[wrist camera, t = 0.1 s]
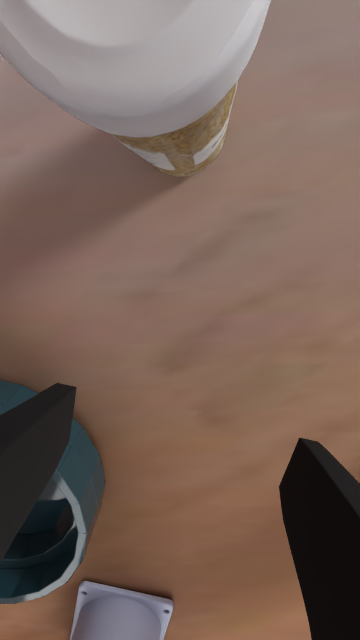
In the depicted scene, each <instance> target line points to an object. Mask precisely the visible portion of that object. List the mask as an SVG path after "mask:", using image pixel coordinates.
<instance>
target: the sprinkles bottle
mask: <svg viewBox="0 0 360 640" xmlns="http://www.w3.org/2000/svg"><path fill="white" fill-rule="evenodd" d="M270 2H271V0H0V53H1V54H2V55H3V56H4V58H5V59H6V60H7V61H8V62H9V63H10V64H11V65H12V66H13V67H14V69H15V70H16V71H17V72H18V73H19V74H20V75H21V76H22V77H23V78H25V79H26V80H27V81H28V82H29V83H30V84H31V85H33V86H34V87H35V88H36V89H37V90H39V91H40V92H41V93H43V94H44V95H45V96H46V97H48V98H49V99H50V100H52V101H53V102H54V103H56V104H57V105H58V106H60V107H61V108H62V109H64V110H65V111H67V112H68V113H69V114H71V115H72V116H74V117H75V118H77V119H79V120H81V121H82V122H84V123H86V124H87V125H89V126H92V127H95V128H97V129H100V130H102V131H105V132H108V133H110V134H111V135H112V136H113V137H114V138H116V139H117V140H118V141H119V142H121V143H122V144H123V145H125V146H126V147H128V148H129V149H130V150H131V151H133V152H134V153H136V154H137V155H139V156H140V157H142V158H143V159H145V160H146V161H148V162H149V163H150V164H151V165H153V166H154V167H155V168H156V169H158V170H159V171H161V172H163V173H167V174H170V175H172V176H190V175H193V174H196V173H198V172H200V171H202V170H204V169H205V168H206V167H207V166H208V165H209V164H211V163H212V162H213V160H214V159H215V158H216V157H217V156H218V154H219V153H220V151H221V148H222V146H223V144H224V141H225V137H226V131H227V124H228V121H229V116H230V112H231V108H232V104H233V100H234V96H235V92H236V88H237V82H238V79H239V77H240V76H241V74H242V72H243V71H244V69H245V67H246V65H247V63H248V62H249V60H250V58H251V56H252V53H253V51H254V49H255V47H256V44H257V42H258V39H259V36H260V33H261V30H262V27H263V24H264V21H265V18H266V15H267V11H268V8H269V5H270Z"/></svg>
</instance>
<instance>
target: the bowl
mask: <svg viewBox="0 0 360 640" xmlns="http://www.w3.org/2000/svg"><path fill="white" fill-rule="evenodd" d="M37 394H38V393H37V392H35V391H33V390H31V389H29V388H27V387H25V386H23V385H20V384H15V383H11V382H6V381H2V380H0V415H1V414H3V413H5V412H7V411H9V410H10V409H12V408H14V407H16V406H18V405H20V404H21V403H23V402H25V401H27V400H28V399H30V398H32V397H34V396H35V395H37ZM104 487H105V478H104V473H103V468H102V464H101V459H100V455H99V453H98V451H97V449H96V448H95V446H94V445H93V443H92V441H91V440H90V438H89V436H88V435H87V433H86V432H85V430H84V428H83V427H82V426H81V425H80V424H79V423H78V422H77V421H76V420H75V419H74V418H72V425H71V433H70V440H69V442H68V444H67V447H66V449H65V451H64V453H63V456H62V458H61V460H60V462H59V464H58V466H57V468H56V470H55V472H54V474H53V475H52V477H51V479H50V480H49V482H48V484H47V485H46V487H45V489H44V490H43V492H42V494H41V495H40V497H39V498H38V500H37V502H36V503H35V505H34V507H33V508H32V510H31V512H30V513H29V515H28V517H27V518H26V520H25V521H24V523H23V525H22V526H21V528H20V530H19V531H18V533H17V535H16V536H15V538H14V540H13V541H12V543H11V545H10V547H9V549H8V550H7V552H6V554H5V556H4V558H3V560H2V562H1V564H0V604H16V603H20V602H24V601H28V600H33V599H37V598H41V597H43V596H46V595H47V594H49V593H50V592H52V591H54V590H55V589H57V588H59V587H60V586H62V585H63V584H65V583H67V582H68V580H69V579H70V578H71V576H72V575H73V573H74V572H75V571H76V569H77V568H78V566H79V565H80V564H81V562H82V561H83V559H84V556H85V553H86V550H87V547H88V544H89V541H90V538H91V535H92V532H93V529H94V526H95V523H96V520H97V517H98V514H99V511H100V508H101V504H102V498H103V493H104Z"/></svg>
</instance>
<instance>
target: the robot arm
mask: <svg viewBox="0 0 360 640" xmlns="http://www.w3.org/2000/svg"><path fill="white" fill-rule="evenodd" d="M75 394H76V387H73V386H69V385H65V384H60V383H56V384H55V385H53V386H51V387H49V388H47V389H46V390H44V391H42V392H40V393H39V394H37V395H35V396H34V397H32V398H30V399H28V400H27V401H25V402H23V403H21V404H20V405H18V406H16V407H14V408H12V409H10V410H9V411H7V412H5V413H3V414H1V415H0V564H1V562H2V560H3V558H4V556H5V554H6V552H7V550H8V549H9V547H10V545H11V543H12V541H13V540H14V538H15V536H16V535H17V533H18V531H19V530H20V528H21V526H22V525H23V523H24V521H25V520H26V518H27V517H28V515H29V513H30V512H31V510H32V508H33V507H34V505H35V503H36V502H37V500H38V498H39V497H40V495H41V494H42V492H43V490H44V489H45V487H46V485H47V484H48V482H49V480H50V479H51V477H52V475H53V474H54V472H55V470H56V468H57V466H58V464H59V462H60V460H61V458H62V456H63V453H64V451H65V449H66V447H67V444H68V442H69V440H70V433H71V425H72V417H73V410H74V402H75ZM279 490H280V499H281V507H282V514H283V521H284V525H285V529H286V533H287V537H288V541H289V545H290V549H291V553H292V557H293V560H294V564H295V568H296V572H297V576H298V580H299V583H300V587H301V591H302V595H303V599H304V603H305V607H306V612H307V616H308V621H309V626H310V632H311V638H312V640H360V483H359V482H358V481H357V480H356V479H355V478H354V477H353V476H352V475H351V474H350V473H349V472H348V471H347V470H346V469H345V468H344V467H343V466H342V465H341V464H340V463H339V462H338V461H337V460H336V459H335V457H334V456H333V455H332V454H331V453H330V452H329V451H328V450H327V449H326V448H324V447H323V446H322V445H321V444H320V443H319V442H317V441H312V440H308V439H303V438H299V440H298V442H297V445H296V447H295V450H294V452H293V454H292V457H291V459H290V462H289V464H288V466H287V469H286V471H285V474H284V476H283V478H282V481H281V483H280V486H279ZM173 607H174V602H173V601H172V600H170V599H167V598H162V597H158V596H153V595H149V594H144V593H139V592H135V591H130V590H126V589H121V588H117V587H112V586H108V585H103V584H98V583H94V582H89V581H82V582H81V583H80V585H79V589H78V595H77V601H76V606H75V612H74V618H73V624H72V630H71V635H70V640H163V639H164V636H165V633H166V630H167V626H168V623H169V620H170V617H171V614H172V611H173Z"/></svg>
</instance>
